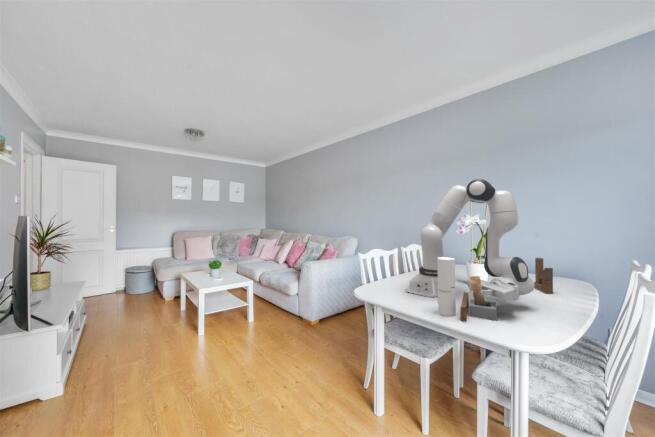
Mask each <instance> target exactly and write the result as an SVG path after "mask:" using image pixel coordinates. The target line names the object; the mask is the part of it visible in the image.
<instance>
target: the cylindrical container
mask: <svg viewBox="0 0 655 437" xmlns="http://www.w3.org/2000/svg"><path fill="white" fill-rule="evenodd" d="M437 265H438V296H437V303H438V304H437V306H438V307H437V308H438V309H437V310H438V311H437V312H438V313H437V314H439V315H441V316H444V317H455V316H456V315H457V308H456V306H457V305H456V303H457V301H456V300H457V299H456V258H453V257H448V256H443V257H439V258H437Z"/></svg>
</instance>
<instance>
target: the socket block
mask: <svg viewBox="0 0 655 437" xmlns="http://www.w3.org/2000/svg"><path fill="white" fill-rule="evenodd" d="M485 304H486V306H479V305H475V301H474V298H470V299H469V306H468V312H469V317H471V318H476V319H477V318H478V319H482V320H483V319H484V320H490V321H493V322H494V321H496V322H497V321H498V309H497V302H495V301H489V300H485Z"/></svg>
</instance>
